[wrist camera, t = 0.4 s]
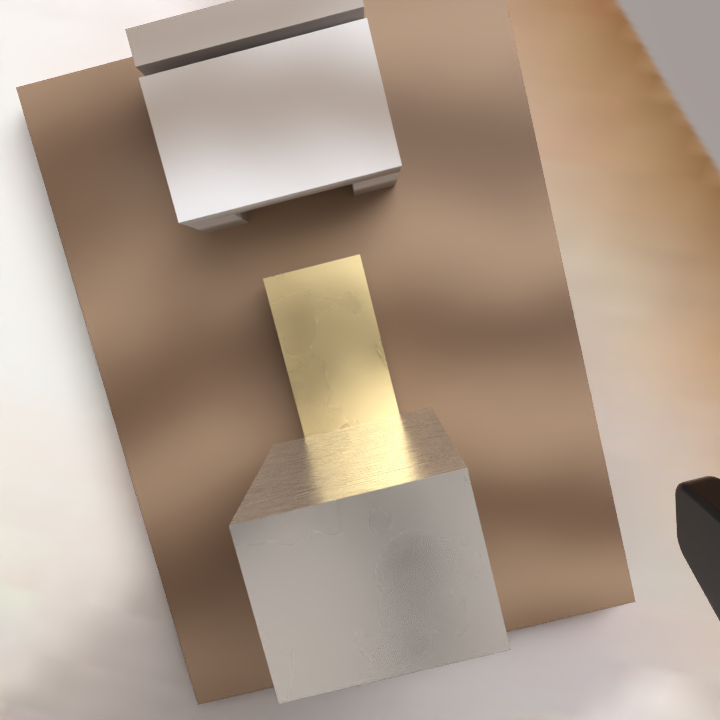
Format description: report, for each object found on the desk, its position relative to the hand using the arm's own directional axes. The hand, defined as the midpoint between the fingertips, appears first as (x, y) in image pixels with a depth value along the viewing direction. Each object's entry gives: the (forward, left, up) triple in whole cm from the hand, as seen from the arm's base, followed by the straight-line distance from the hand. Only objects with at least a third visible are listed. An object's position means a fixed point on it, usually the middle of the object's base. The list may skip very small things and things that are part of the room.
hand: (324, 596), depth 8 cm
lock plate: (+2, +2, -16) cm, 16 cm away
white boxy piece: (0, 0, -14) cm, 14 cm away
